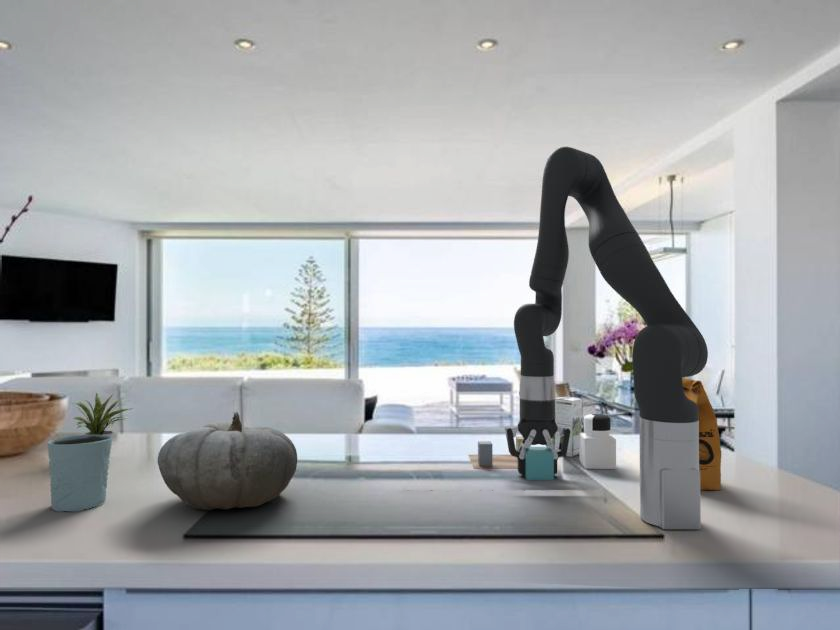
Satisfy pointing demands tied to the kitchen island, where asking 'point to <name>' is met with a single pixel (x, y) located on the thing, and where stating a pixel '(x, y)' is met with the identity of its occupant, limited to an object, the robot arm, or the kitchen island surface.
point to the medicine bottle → (597, 443)
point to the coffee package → (706, 436)
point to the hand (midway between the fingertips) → (537, 475)
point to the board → (499, 459)
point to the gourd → (227, 465)
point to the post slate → (484, 453)
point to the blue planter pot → (79, 471)
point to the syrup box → (569, 422)
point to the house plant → (99, 417)
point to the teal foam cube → (539, 464)
